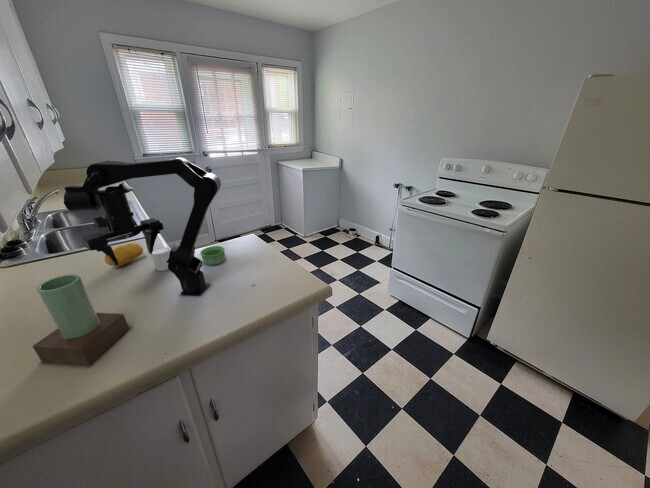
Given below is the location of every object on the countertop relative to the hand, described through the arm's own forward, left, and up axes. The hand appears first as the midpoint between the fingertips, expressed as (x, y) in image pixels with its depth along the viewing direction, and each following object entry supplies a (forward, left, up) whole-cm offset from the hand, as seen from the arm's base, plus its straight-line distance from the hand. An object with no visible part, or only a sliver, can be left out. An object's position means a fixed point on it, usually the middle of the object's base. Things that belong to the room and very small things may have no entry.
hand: (134, 259), depth 81 cm
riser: (0, +21, -13) cm, 25 cm away
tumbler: (0, +21, -8) cm, 22 cm away
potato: (+23, -21, -9) cm, 32 cm away
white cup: (+6, -18, -13) cm, 23 cm away
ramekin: (-11, -24, -13) cm, 29 cm away
